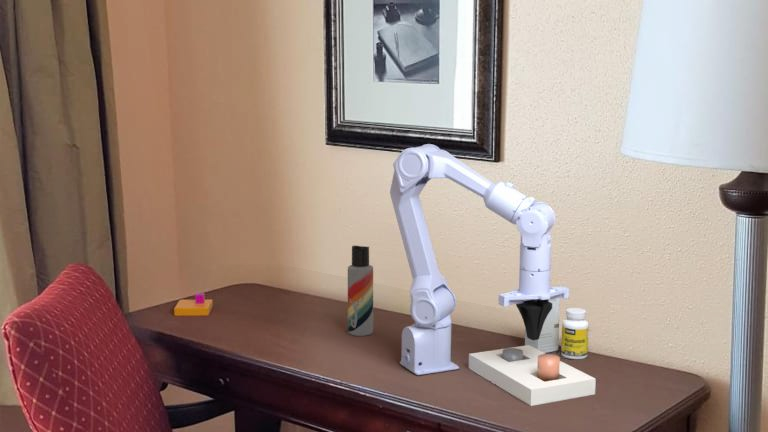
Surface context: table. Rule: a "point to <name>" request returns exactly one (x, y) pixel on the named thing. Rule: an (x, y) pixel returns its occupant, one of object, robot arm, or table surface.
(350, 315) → the lotion bottle
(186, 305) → the yellow slab with magenta
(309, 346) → the table surface
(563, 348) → the supplement bottle
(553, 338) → the skincare box
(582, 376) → the white board with holes
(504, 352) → the button far
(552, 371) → the button near
